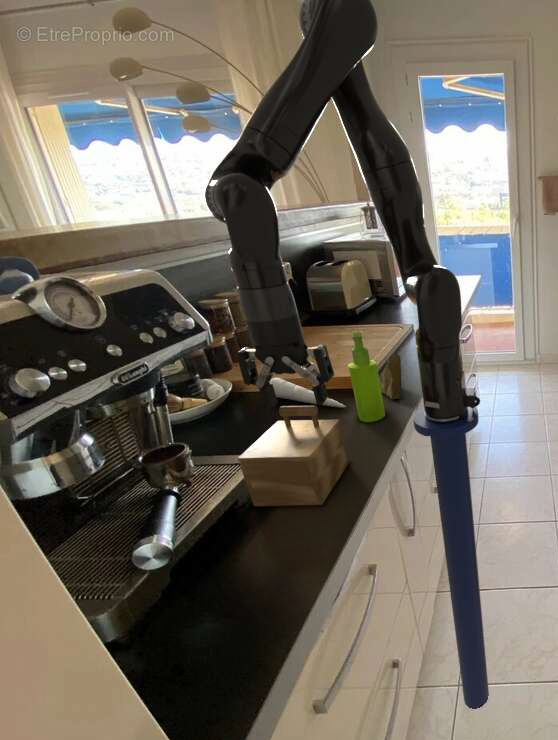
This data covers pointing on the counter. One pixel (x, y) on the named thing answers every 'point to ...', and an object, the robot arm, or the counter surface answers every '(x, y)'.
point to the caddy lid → (291, 437)
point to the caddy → (297, 476)
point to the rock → (392, 378)
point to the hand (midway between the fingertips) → (297, 404)
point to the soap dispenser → (365, 382)
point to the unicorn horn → (298, 393)
